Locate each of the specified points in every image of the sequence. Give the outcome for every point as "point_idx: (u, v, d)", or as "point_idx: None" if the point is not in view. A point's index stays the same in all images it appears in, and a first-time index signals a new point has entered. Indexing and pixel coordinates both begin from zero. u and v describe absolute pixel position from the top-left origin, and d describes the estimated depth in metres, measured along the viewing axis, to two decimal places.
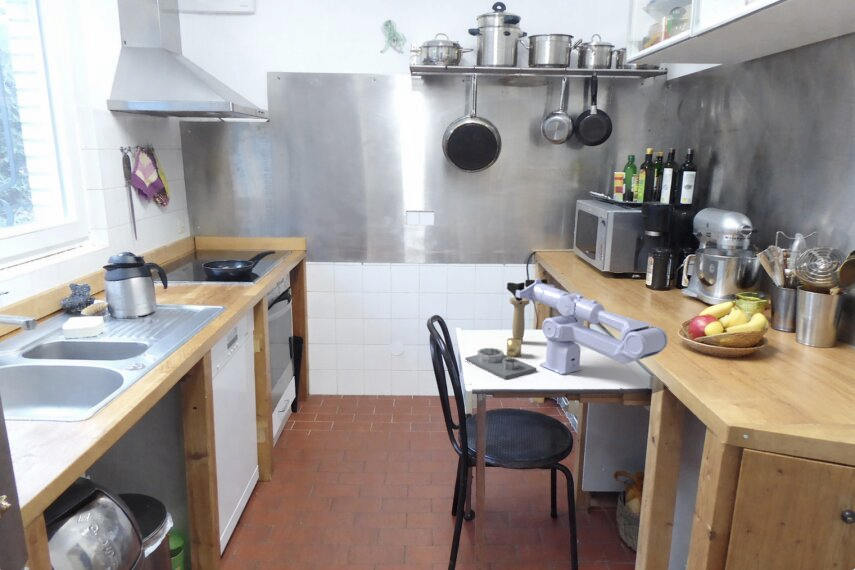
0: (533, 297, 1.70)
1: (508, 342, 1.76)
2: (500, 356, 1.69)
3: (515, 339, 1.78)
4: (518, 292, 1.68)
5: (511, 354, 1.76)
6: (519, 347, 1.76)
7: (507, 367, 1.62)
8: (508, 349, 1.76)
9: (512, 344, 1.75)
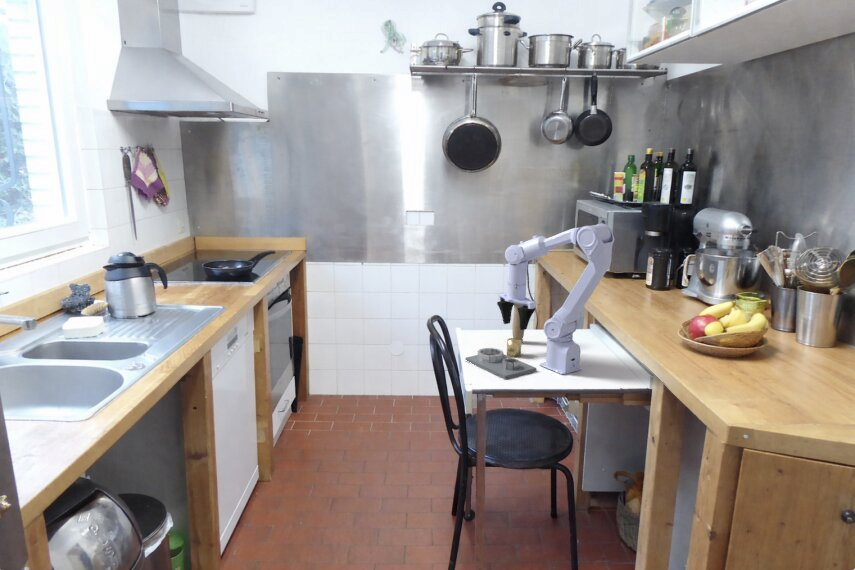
0: (524, 295, 1.72)
1: (508, 342, 1.76)
2: (500, 356, 1.69)
3: (515, 339, 1.78)
4: (531, 305, 1.68)
5: (511, 354, 1.76)
6: (519, 347, 1.76)
7: (507, 367, 1.62)
8: (508, 349, 1.76)
9: (512, 344, 1.75)
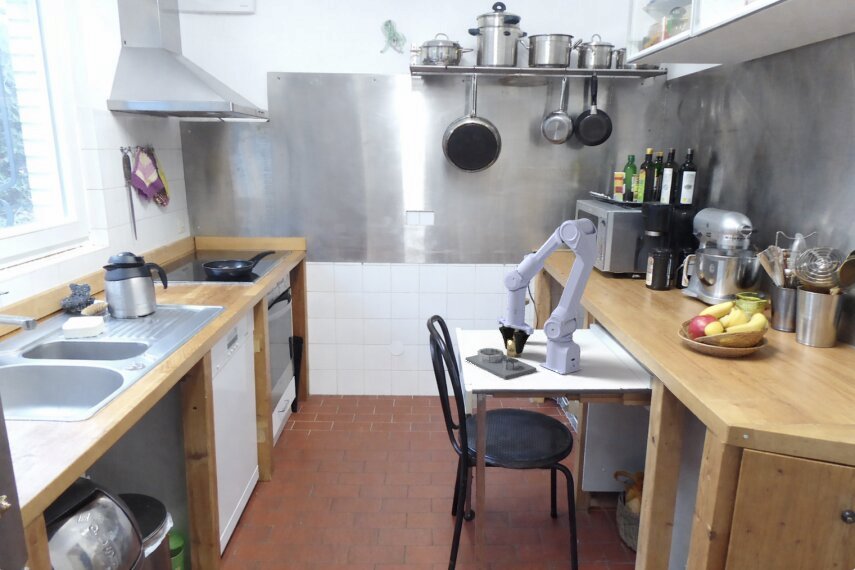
0: (523, 321, 1.74)
1: (508, 342, 1.76)
2: (500, 356, 1.69)
3: None
4: (529, 331, 1.70)
5: (511, 354, 1.76)
6: None
7: (507, 367, 1.62)
8: (508, 349, 1.76)
9: (512, 344, 1.75)
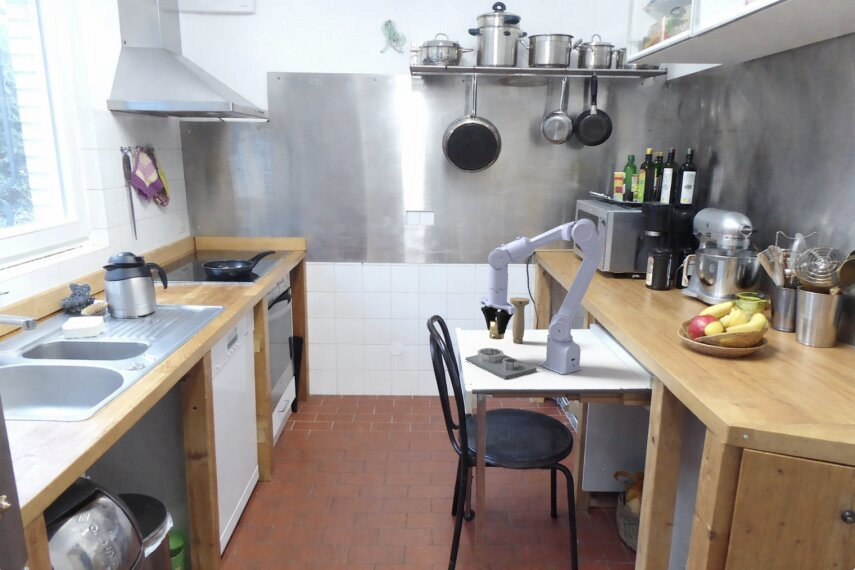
0: (506, 300, 1.68)
1: (491, 323, 1.70)
2: (500, 356, 1.69)
3: None
4: (511, 310, 1.64)
5: (493, 335, 1.70)
6: None
7: (507, 367, 1.62)
8: (491, 330, 1.71)
9: (495, 325, 1.69)
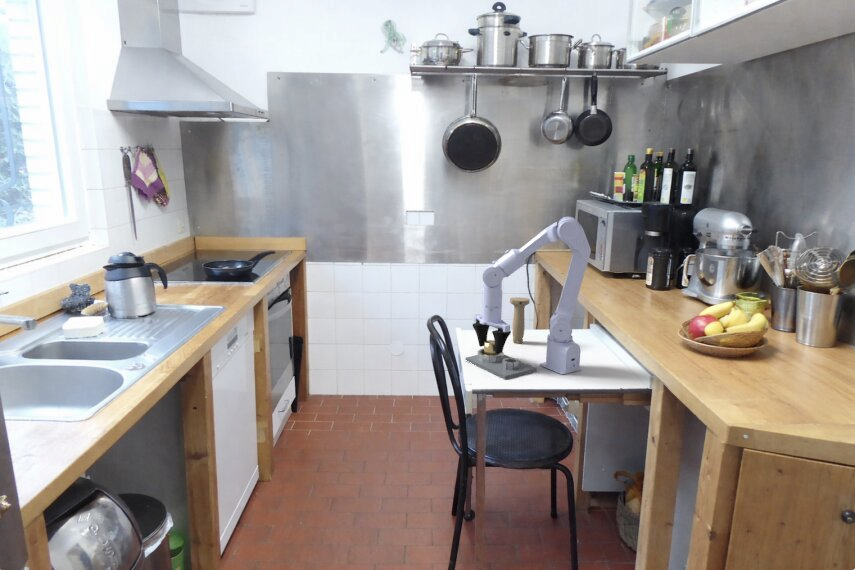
0: (500, 318, 1.68)
1: (485, 344, 1.70)
2: (500, 356, 1.69)
3: (492, 341, 1.72)
4: (506, 328, 1.63)
5: None
6: None
7: (507, 367, 1.62)
8: (485, 352, 1.70)
9: (489, 346, 1.69)
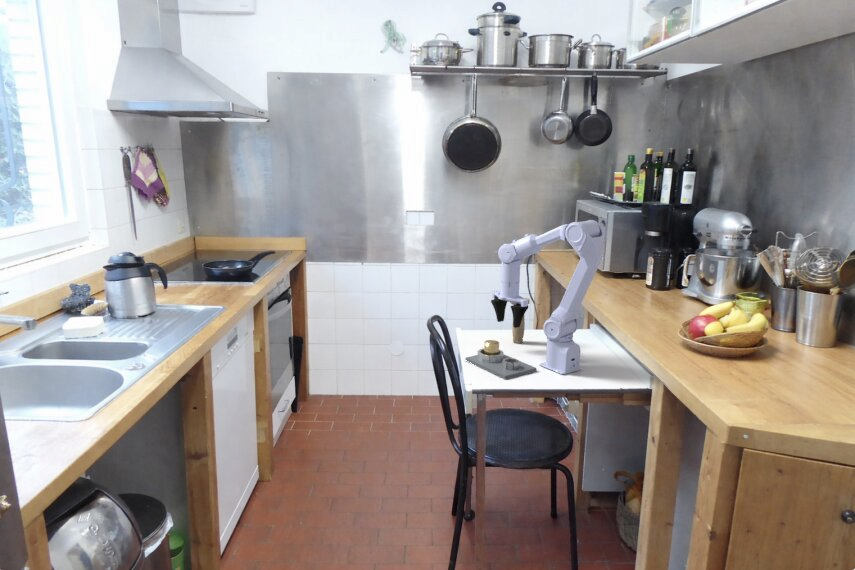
0: (518, 293, 1.75)
1: (486, 344, 1.70)
2: (500, 356, 1.69)
3: (493, 341, 1.72)
4: (524, 303, 1.70)
5: None
6: (497, 349, 1.70)
7: (507, 367, 1.62)
8: (485, 351, 1.70)
9: (490, 346, 1.69)
